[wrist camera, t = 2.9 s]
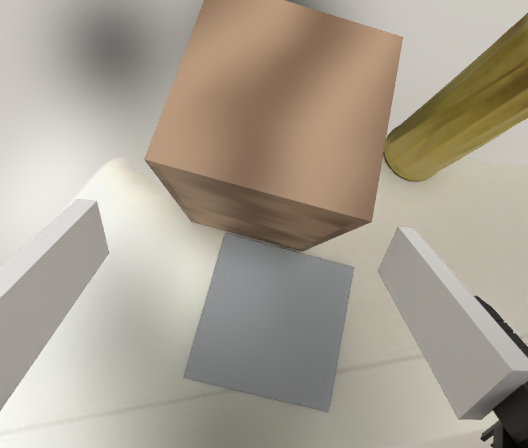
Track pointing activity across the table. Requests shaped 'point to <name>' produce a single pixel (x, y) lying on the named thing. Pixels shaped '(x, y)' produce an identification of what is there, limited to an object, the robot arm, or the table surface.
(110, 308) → the table surface
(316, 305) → the mat
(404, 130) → the vase
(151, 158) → the brown wooden block
